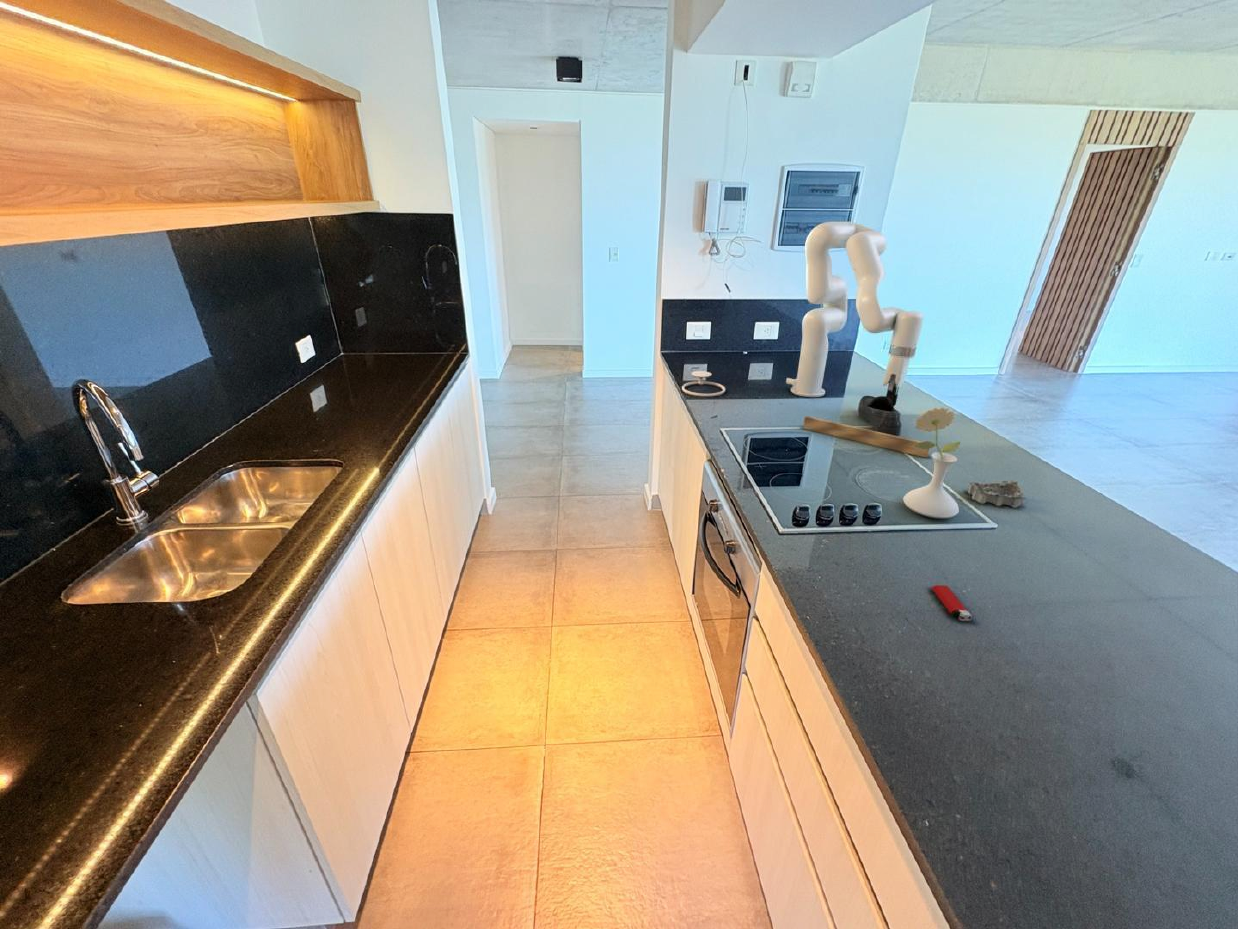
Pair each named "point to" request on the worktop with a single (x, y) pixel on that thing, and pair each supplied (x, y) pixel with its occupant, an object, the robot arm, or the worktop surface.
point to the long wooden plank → (865, 436)
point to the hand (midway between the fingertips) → (889, 405)
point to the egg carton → (997, 493)
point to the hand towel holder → (702, 375)
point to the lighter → (952, 602)
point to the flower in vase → (935, 470)
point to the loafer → (880, 414)
